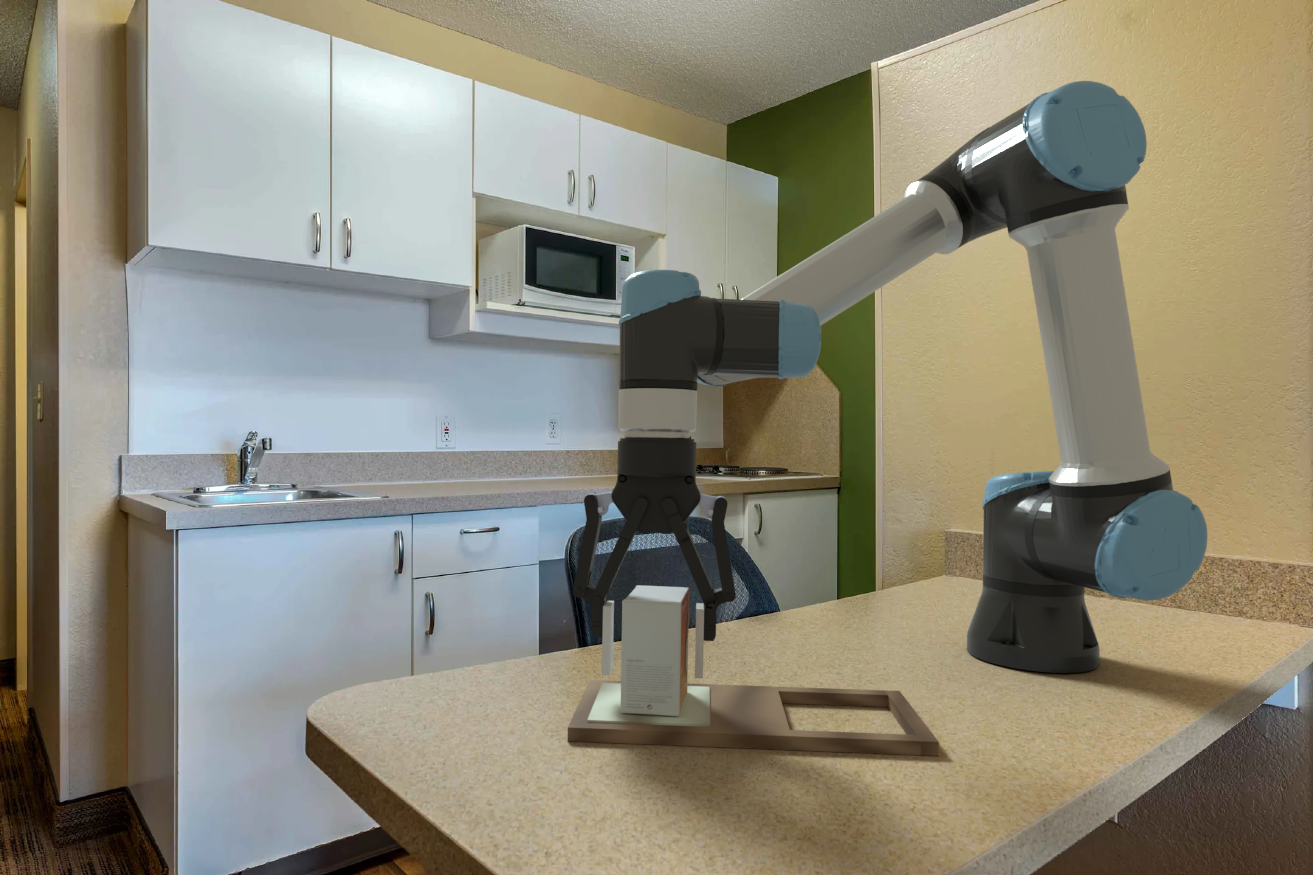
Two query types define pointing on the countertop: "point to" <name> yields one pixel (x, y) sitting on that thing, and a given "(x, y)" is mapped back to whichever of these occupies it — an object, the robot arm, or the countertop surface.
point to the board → (746, 720)
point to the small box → (654, 650)
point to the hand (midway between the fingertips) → (653, 672)
